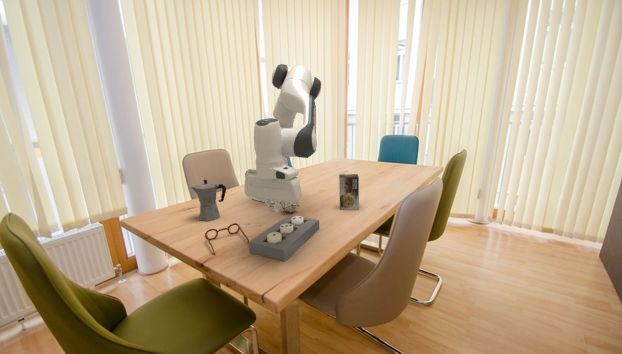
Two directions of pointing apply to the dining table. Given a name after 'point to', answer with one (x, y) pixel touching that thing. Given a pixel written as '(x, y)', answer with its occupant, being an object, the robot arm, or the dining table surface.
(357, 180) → the coffee box
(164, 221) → the dining table surface
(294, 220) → the button two
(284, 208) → the game die
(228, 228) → the glasses
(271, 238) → the button one
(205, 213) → the coffeepot
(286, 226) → the button three
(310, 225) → the button panel
